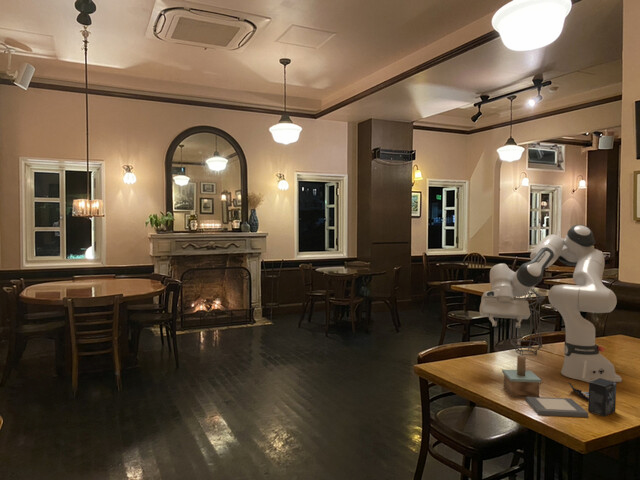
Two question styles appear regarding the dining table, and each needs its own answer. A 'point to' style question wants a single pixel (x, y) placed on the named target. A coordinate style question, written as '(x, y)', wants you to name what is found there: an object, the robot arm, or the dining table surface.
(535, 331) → the geometric lantern
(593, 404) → the box
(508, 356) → the dining table surface
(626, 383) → the dining table surface
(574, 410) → the gray rectangular tray
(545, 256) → the robot arm
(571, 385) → the snack package
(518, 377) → the lid
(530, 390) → the tea box
